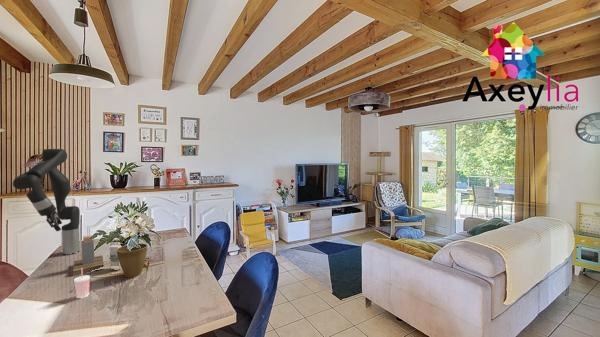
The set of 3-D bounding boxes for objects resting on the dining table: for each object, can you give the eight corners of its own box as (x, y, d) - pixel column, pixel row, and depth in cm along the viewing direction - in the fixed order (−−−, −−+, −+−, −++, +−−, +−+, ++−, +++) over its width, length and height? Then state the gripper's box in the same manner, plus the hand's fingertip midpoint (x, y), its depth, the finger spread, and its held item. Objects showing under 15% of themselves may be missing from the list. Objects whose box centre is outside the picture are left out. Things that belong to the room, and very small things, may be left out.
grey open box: (82, 262, 161) (82, 241, 160) (94, 259, 164) (93, 239, 164) (82, 265, 157) (81, 243, 156) (94, 262, 160) (93, 241, 160)
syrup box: (126, 266, 161) (125, 243, 161) (118, 270, 155) (118, 246, 155) (117, 266, 162) (117, 243, 161) (110, 270, 156) (109, 246, 155)
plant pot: (154, 270, 155) (153, 244, 154) (132, 282, 141) (131, 253, 140) (134, 268, 159) (133, 242, 158) (110, 279, 145) (109, 250, 144)
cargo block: (83, 243, 160) (83, 236, 160) (91, 241, 163) (91, 235, 163) (83, 244, 157) (83, 238, 157) (91, 243, 160) (91, 236, 160)
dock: (74, 265, 164) (74, 260, 164) (102, 259, 173) (102, 254, 173) (73, 276, 149) (72, 270, 148) (103, 269, 157) (103, 264, 157)
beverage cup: (77, 294, 128) (76, 266, 128) (93, 292, 131) (92, 264, 130) (72, 300, 123) (70, 271, 122) (88, 298, 125) (86, 269, 124)
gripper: (50, 208, 149) (66, 229, 157) (53, 198, 160) (67, 219, 168) (34, 214, 146) (50, 235, 153) (37, 203, 156) (53, 224, 164)
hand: (59, 227), depth 160 cm, fingers open, 8 cm apart
